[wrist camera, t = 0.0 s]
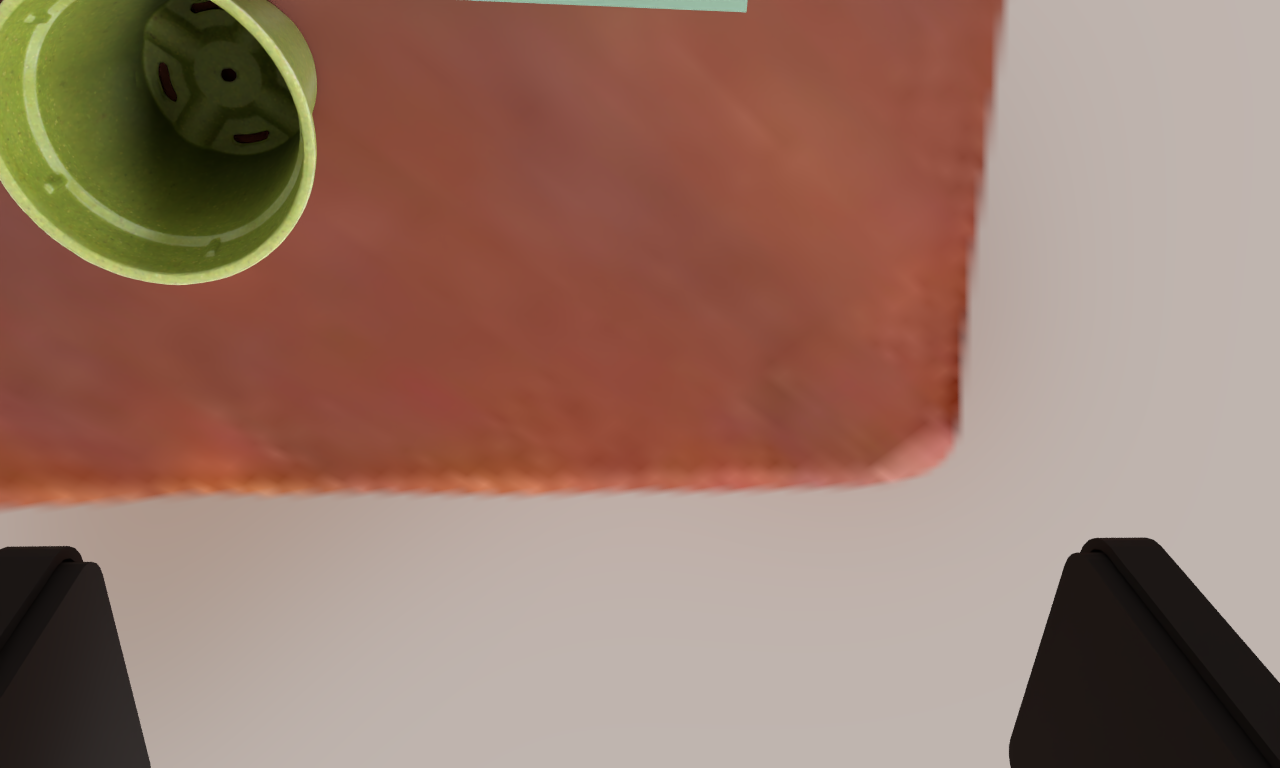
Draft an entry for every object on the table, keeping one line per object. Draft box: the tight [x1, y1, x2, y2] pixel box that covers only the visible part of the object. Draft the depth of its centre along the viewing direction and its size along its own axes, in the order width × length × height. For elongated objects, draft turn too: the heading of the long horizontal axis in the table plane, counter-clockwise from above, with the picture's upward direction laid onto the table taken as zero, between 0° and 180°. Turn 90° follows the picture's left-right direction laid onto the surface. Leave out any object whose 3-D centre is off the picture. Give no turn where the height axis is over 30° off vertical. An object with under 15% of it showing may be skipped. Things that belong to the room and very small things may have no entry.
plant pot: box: [0, 0, 317, 285], centre depth 33 cm, size 9×9×9 cm
